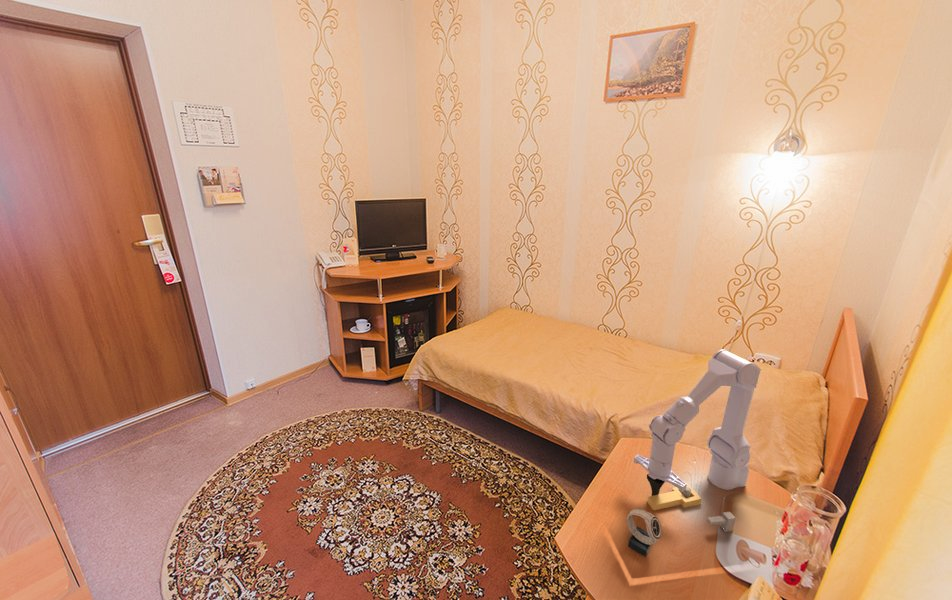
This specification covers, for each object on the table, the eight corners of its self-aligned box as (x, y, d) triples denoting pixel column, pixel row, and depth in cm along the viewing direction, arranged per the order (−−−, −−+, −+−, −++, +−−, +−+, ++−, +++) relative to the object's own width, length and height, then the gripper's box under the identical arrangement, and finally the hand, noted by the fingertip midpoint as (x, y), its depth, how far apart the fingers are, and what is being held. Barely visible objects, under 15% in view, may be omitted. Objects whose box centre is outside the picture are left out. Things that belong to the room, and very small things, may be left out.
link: (686, 489, 115) (687, 484, 114) (700, 504, 110) (701, 498, 109) (644, 498, 112) (645, 493, 111) (656, 514, 107) (657, 508, 106)
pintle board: (696, 486, 117) (699, 471, 116) (738, 535, 101) (742, 519, 100) (633, 492, 115) (635, 478, 114) (666, 544, 99) (669, 527, 98)
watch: (653, 565, 94) (658, 531, 91) (620, 545, 99) (624, 512, 96) (660, 549, 98) (666, 515, 95) (629, 531, 103) (633, 498, 100)
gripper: (629, 448, 111) (624, 486, 115) (679, 478, 100) (672, 519, 104) (643, 439, 115) (638, 475, 119) (693, 467, 104) (685, 506, 108)
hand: (655, 495), depth 112 cm, fingers closed, pressing on link
